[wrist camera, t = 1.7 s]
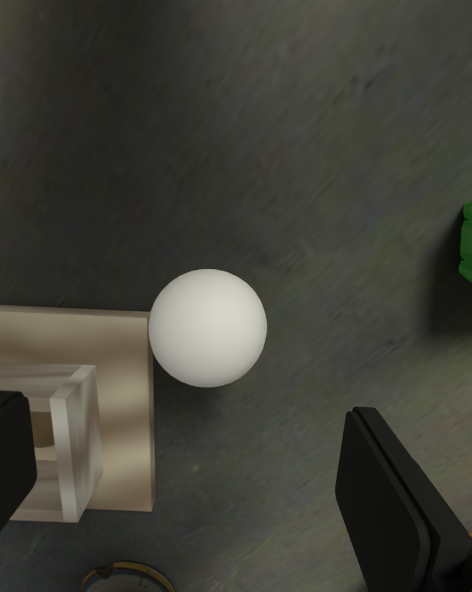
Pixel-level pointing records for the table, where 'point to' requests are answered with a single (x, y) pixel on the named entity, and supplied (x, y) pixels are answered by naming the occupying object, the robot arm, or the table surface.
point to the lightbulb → (207, 328)
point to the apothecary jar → (126, 579)
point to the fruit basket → (466, 243)
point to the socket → (83, 407)
